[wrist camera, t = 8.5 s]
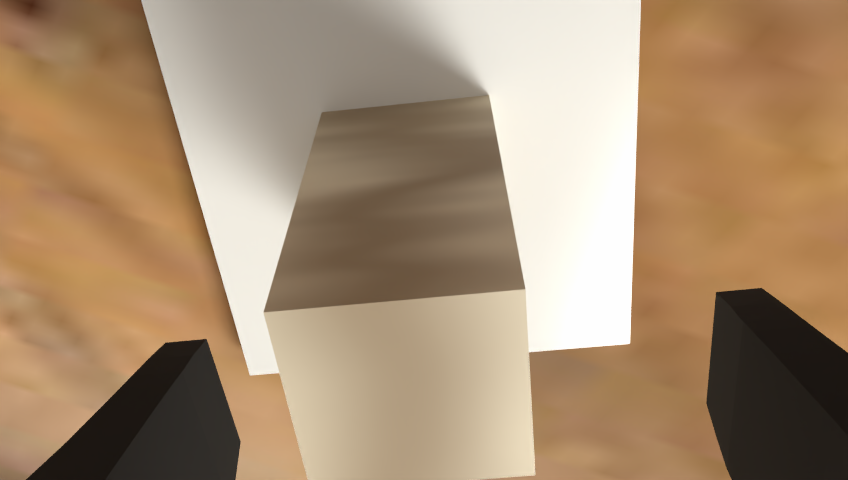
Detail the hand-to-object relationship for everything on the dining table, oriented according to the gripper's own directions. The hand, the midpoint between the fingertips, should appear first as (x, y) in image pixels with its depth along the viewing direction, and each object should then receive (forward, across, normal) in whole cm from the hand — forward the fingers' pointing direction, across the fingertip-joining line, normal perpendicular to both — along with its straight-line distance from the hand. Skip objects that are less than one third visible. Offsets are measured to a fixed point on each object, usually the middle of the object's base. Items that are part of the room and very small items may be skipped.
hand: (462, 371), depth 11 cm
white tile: (+10, +1, +2) cm, 10 cm away
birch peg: (+9, +1, +1) cm, 9 cm away
